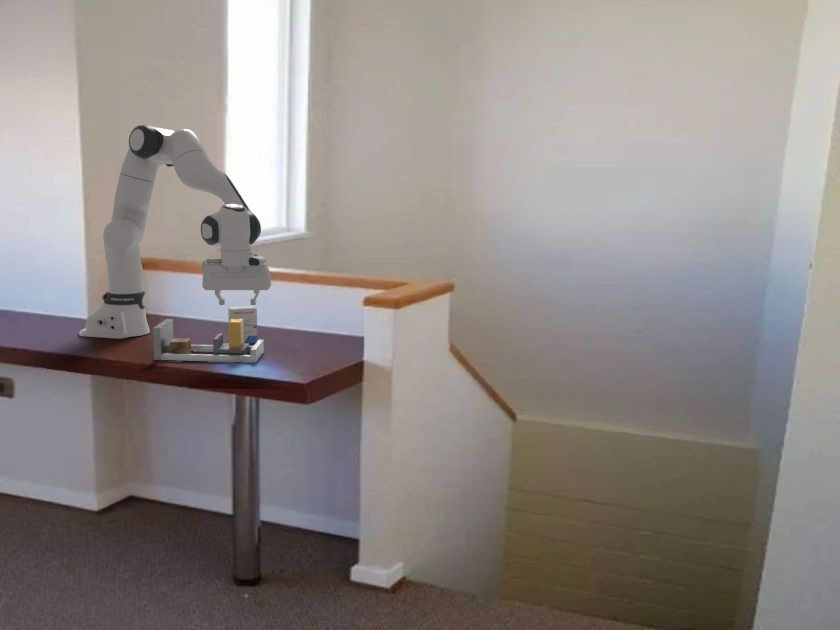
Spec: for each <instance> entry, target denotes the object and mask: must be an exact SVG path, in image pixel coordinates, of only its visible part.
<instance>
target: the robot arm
mask: <svg viewBox="0 0 840 630" xmlns="http://www.w3.org/2000/svg"><path fill="white" fill-rule="evenodd" d="M128 147H129V148H128V150H127V152H126V155H125V157H124V160H123V162H122V164H121V169H120V173H119V177H118V181H117V184H116V189H115V194H114V200H113V201H114V202H113V210H112V215H111V216H112V217H111V219H110V222H109V223H107V224H106V225H105V227H104V228H103V232H102V237H103V244H104V245H103V247H104V248H103V249H104V253H105V259H106V260H105V261H106V266H107V277H108V291H105V293H104V294H103V295H101V297H102V298H101V299H102V300H103V303H102V304H101V305H100V306H98V307H97V308H95V309H94V311H92V312H91V313H89V315H88V316H87V319H86V323H85V327H84V328H82V329H80V330H79V332H78V334H79V336H80V337H88V338H105V339H116V340H117V339H119V340H121V339H125V338H130V337H131V338H133V337H139V336H145V335H148V334H149V333H150V332H151V331H150V327H149V324H148V321H147V314H146V303H147V302H146V292H145V290H144V272H143V268H144V267H143V264H142V259H141V248H140V243H141V242H142V240H143V239H144V234H145V229H146V224H147V218H148V213H149V207H150V202H151V198H152V193H153V189H154V185H155V181H156V177H157V172H158V169H159V168H160V166H162V165H166V167H170V168H171V167H173V168H174V171H175V173H176V175H177V178H178V179H179V180H180V182H181V183H182V184H183V185H184V186H186V187H188V188H190V189H192V190H196V191H201V192H204V193H209V194H211V195H214V196H215V197H218V198H219V199H221V200H222V202H223V203H224V204H223V205H221V206H220V208H219V210H218V211H217V212H214V213H212V214H209V215H206V216H205V217H204V218H203V219H202V222H201V223H200V235H201V238H202V240H203V241H204V242H205V243H206V244H207V245H209V246H214V247H218V246H219V247H220V258H215V259H213V258H212V259H211V258H207V259H205V260H203V261H202V263H201V272H202V288H203V289H204V291H214V295H215V296H216V298H217V299H218V304H219V306H224V305H226V299H225V298H223V297H222V295H221V292H222V291H253V294H254V297H253V298H250V300H249V301H250V306H256V305H257V298H258V297H259V295H260V292H261V291H269V290H270V289H271V287H272V277H271V271H270V268H269V266H268V265H267V257H265V256H264V255H260V254H258V253H254V252H252V249H251V247H252V246H251V245H254V243H255V242H256V241H258V239H259V237H260V235H261V232H262V226H261V222H260V220H259V218H258V217H257V216H256V215H255V213H254V212H252V210H251V209H250V208H249V206H248V205H247V203H246V202H245V200H244V199H243V197H242V196H241V194H240V192H239V191H238V189H237V188H236V186H235V185H234V182H232V180H231V179H230V177H229V176H228V175H227V174H226V173H225V172H223V171H222V170H220V169H219V168H218V167H217V166H216V165H215V164H214V163H213V162H212V160H211V159H210V157H209V155H208V153H207V151H206V149H205V147H204V145H203V143H202V141H201V140H200V139H199V137H198V136H197V135H196V133H194V132H193V131H192V130H191V129H186V128H184V129H183V128H181V129H178V130H175V131H174V130H171V129H168V128H162V127H158V126H157V127H156V126H152V125H147V124H140V125H137V126H135V127H134V128H133V129H132V131H131V132H130V134H129V137H128Z"/></svg>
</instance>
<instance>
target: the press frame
mask: <svg viewBox="0 0 840 630" xmlns="http://www.w3.org/2000/svg"><path fill="white" fill-rule="evenodd" d="M152 331H153V332H152V334H153V352H154V353H153V355H154V357H153V358H154V360H185V361H187V360H188V361H208V362H207V363H235V362H242V363H244V364H257V362H258V360H260V358H261V357H262V355H263V354H264V352H265V345H264V342H265V341H264V339H257V342H256V343H254V344H253V345H249V354H248V355H222V354H213V344H191V351H193V352H192V353H191V354H169V353H170V341H172V340H173V339H174V338H175V336H174V335H175V334H174V319H173V318H165V319H164V320H162V321H161V322H159V323H158V324H157V325H155V326H153V328H152ZM207 353H208V354H207ZM210 353H211V354H210ZM242 363H241V364H242Z"/></svg>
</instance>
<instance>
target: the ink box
mask: <svg viewBox="0 0 840 630" xmlns="http://www.w3.org/2000/svg"><path fill="white" fill-rule="evenodd" d="M227 310H228V311H227V312H228V314H227V315H228V318H227V320H228V323H229V321H230V320H231V319H244V343H249V345H251V344H256V342H257V341H258V309H257V307H256V306H255V305H245V306H243V305H242V306H228V309H227Z"/></svg>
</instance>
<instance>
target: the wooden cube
mask: <svg viewBox="0 0 840 630" xmlns="http://www.w3.org/2000/svg"><path fill="white" fill-rule="evenodd" d="M191 345H192V340H191V338H179V337H178V338H175V337H174V339H173V340H172V341H170V354H192V352H191Z"/></svg>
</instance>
